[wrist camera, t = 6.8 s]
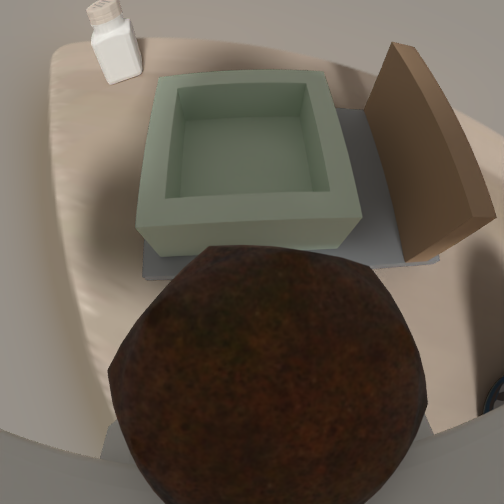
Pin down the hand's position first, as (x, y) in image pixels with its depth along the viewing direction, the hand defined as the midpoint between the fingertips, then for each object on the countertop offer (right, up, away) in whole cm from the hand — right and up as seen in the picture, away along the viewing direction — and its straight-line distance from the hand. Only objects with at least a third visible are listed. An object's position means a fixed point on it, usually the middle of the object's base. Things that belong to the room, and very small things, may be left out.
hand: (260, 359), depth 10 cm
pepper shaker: (-14, +23, +17) cm, 32 cm away
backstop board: (+3, +9, +13) cm, 16 cm away
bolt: (0, -4, +8) cm, 9 cm away
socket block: (-1, +9, +11) cm, 15 cm away
